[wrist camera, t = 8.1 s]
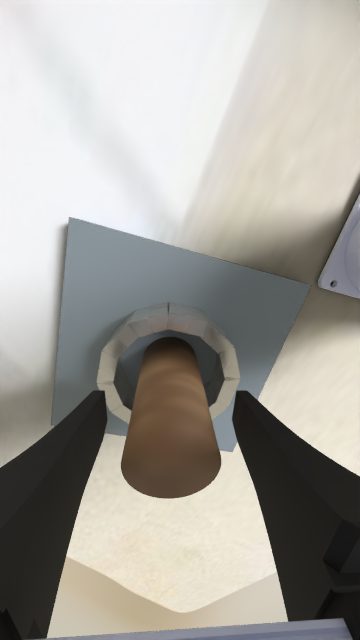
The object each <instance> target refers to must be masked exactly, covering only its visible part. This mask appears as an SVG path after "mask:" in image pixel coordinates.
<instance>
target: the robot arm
mask: <svg viewBox="0 0 360 640" xmlns="http://www.w3.org/2000/svg"><path fill="white" fill-rule="evenodd" d="M332 281H333V285H332V286H330V284H331V282H332ZM318 286H319V287H320V288H323V289H326V290H330V291H334V292H337V293H341V294H344V295H348V296H351V297H355V298H358V299H360V194H359V196H358V198H357V200H356V203H355V205H354V207H353V209H352V211H351V213H350V215H349V217H348V219H347V221H346V223H345V225H344V228H343V230H342V232H341V234H340V236H339V238H338V240H337V242H336V244H335V246H334V248H333V250H332V253H331V255H330V257H329V259H328V261H327V263H326V265H325V267H324V269H323V271H322V273H321V275H320V277H319V280H318ZM107 421H108V418H107V408H106V398H105V390H93V391H92V392H91V393H90V394H89V395H88V396H87V397H86V398H85V399H84V400H83V401H82V402H81V403H80V404H79V405H78V406H77V407H76V408H75V409H74V410H73V411H72V412H70V413H69V414H68V415H67V416H66V417H65V418H64V419H63V420H62V421H61V422H60V423H59V424H57V425H56V426H55V427H54V428H53V429H52V430H51V431H49V432H48V433H47V434H46V435H45V436H44V437H42V438H41V439H40V440H39V441H37V442H36V443H35V444H33V445H32V446H31V447H29V448H28V449H27V450H25V451H24V452H23V453H21V454H20V455H19V456H17V457H16V458H14V459H13V460H11V461H10V462H8V463H7V464H5V465H4V466H2V467H1V468H0V640H360V476H358V475H356V474H355V473H353V472H351V471H349V470H348V469H346V468H344V467H343V466H341V465H339V464H338V463H336V462H335V461H333V460H332V459H330V458H328V457H327V456H325V455H324V454H322V453H321V452H319V451H318V450H316V449H315V448H314V447H312V446H311V445H310V444H308V443H307V442H305V441H304V440H303V439H301V438H300V437H299V436H297V435H296V434H295V433H294V432H292V431H291V430H290V429H289V428H288V427H286V426H285V425H284V424H283V423H282V422H280V421H279V420H278V419H277V418H276V417H275V416H274V415H273V414H272V413H270V412H269V411H268V410H267V409H266V408H265V407H264V406H263V405H262V404H261V403H260V402H259V401H258V400H257V399H256V398H255V397H254V396H253V395H251V394H250V393H249V392H248V391H247V390H236V396H235V402H234V408H233V414H232V422H233V426H234V431H235V434H236V438H237V441H238V444H239V446H240V449H241V452H242V454H243V457H244V460H245V462H246V465H247V468H248V470H249V473H250V476H251V478H252V481H253V484H254V487H255V490H256V493H257V496H258V500H259V503H260V507H261V511H262V514H263V518H264V522H265V525H266V529H267V533H268V537H269V540H270V544H271V548H272V553H273V557H274V561H275V565H276V569H277V572H278V577H279V582H280V586H281V590H282V595H283V599H284V604H285V608H286V613H287V617H288V622H279V623H265V624H251V625H235V626H221V627H206V628H192V629H177V630H163V631H149V632H134V633H120V634H105V635H91V636H76V637H62V638H47V633H48V629H49V625H50V620H51V616H52V612H53V608H54V603H55V599H56V595H57V591H58V586H59V582H60V578H61V574H62V570H63V566H64V562H65V558H66V554H67V550H68V547H69V543H70V539H71V535H72V531H73V528H74V524H75V520H76V517H77V513H78V510H79V506H80V502H81V499H82V496H83V493H84V490H85V487H86V484H87V481H88V479H89V476H90V473H91V470H92V468H93V465H94V462H95V460H96V457H97V454H98V452H99V449H100V446H101V443H102V441H103V437H104V433H105V429H106V425H107ZM46 638H47V639H46Z"/></svg>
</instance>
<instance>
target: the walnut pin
mask: <svg viewBox="0 0 360 640" xmlns="http://www.w3.org/2000/svg"><path fill="white" fill-rule="evenodd" d="M220 467H221V455H220V451H219V447H218V443H217V439H216V435H215V431H214V427H213V423H212V419H211V415H210V411H209V407H208V403H207V399H206V395H205V390H204V386H203V382H202V378H201V374H200V370H199V366H198V362H197V358H196V354H195V351H194V349H193V348H192V346H191V345H190V344H189V343H188V342H186V341H185V340H183V339H180V338H177V337H163V338H159V339H157V340H155V341H154V342H152V343H151V344H150V345H149V346H148V347H147V349H146V350H145V352H144V355H143V360H142V365H141V369H140V374H139V379H138V384H137V388H136V393H135V398H134V403H133V408H132V412H131V417H130V422H129V427H128V432H127V436H126V441H125V446H124V451H123V455H122V460H121V470H122V474H123V476H124V478H125V480H126V481H127V482H128V484H129V485H130V486H132V487H133V488H134V489H135V490H137V491H139V492H141V493H143V494H145V495H148V496H152V497H157V498H180V497H185V496H188V495H191V494H194V493H196V492H198V491H200V490H202V489H204V488H205V487H206V486H208V485H209V484H210V483H211V482H212V481H213V480H214V479H215V477H216V476H217V474H218V472H219V470H220Z"/></svg>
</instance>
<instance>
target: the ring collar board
mask: <svg viewBox="0 0 360 640" xmlns="http://www.w3.org/2000/svg"><path fill="white" fill-rule="evenodd" d="M310 287H311V285H309V284H305V283H302V282H299V281H295V280H291V279H288V278H284V277H281V276H277V275H274V274H270V273H267V272H263V271H260V270H256V269H253V268H249V267H245V266H242V265H238V264H235V263H231V262H228V261H224V260H221V259H217V258H214V257H210V256H207V255H203V254H200V253H196V252H192V251H189V250H185V249H182V248H178V247H175V246H171V245H168V244H164V243H161V242H157V241H154V240H150V239H146V238H143V237H139V236H136V235H132V234H129V233H125V232H122V231H118V230H115V229H111V228H108V227H104V226H100V225H97V224H93V223H90V222H86V221H83V220H79V219H75V218H71V217H69V224H68V235H67V246H66V258H65V269H64V281H63V292H62V304H61V315H60V327H59V338H58V349H57V361H56V372H55V384H54V395H53V407H52V418H51V425H54V426H56V425H57V424H59V423H60V422H61V421H62V420H63V419H64V418H65V417H66V416H67V415H68V414H69V413H70V412H72V411H73V410H74V409H75V408H76V407H77V406H78V405H79V404H80V403H81V402H82V401H83V400H84V399H85V398H86V397H87V396H88V395H89V394H90V393H91V392H92V391H93V390H105V398H106V408H107V418H108V421H107V425H106V429H105V433H108V434H115V435H121V436H127V432H128V427H129V422H130V417H131V412H132V408H133V403H134V398H135V393H136V388H137V384H138V379H139V374H140V369H141V365H142V360H143V355H144V352H145V350H146V349H147V347H148V346H149V345H150V344H151V343H152V342H154V341H155V340H157V339H159V338H163V337H177V338H180V339H183V340H185V341H186V342H188V343H189V344H190V345H191V346H192V348H193V349H194V351H195V354H196V358H197V362H198V366H199V370H200V374H201V378H202V382H203V386H204V390H205V395H206V399H207V403H208V407H209V411H210V415H211V419H212V423H213V427H214V431H215V435H216V439H217V443H218V447H219V450H222V451H228V452H233V450H234V448H235V446H236V444H237V438H236V434H235V431H234V426H233V422H232V414H233V408H234V402H235V396H236V390H247V391H248V392H249V393H250V394H251V395H253V396H254V397H255V398H256V399H258V397H259V395H260V393H261V391H262V389H263V387H264V384H265V382H266V380H267V378H268V376H269V374H270V372H271V370H272V368H273V365H274V363H275V361H276V359H277V357H278V355H279V353H280V351H281V349H282V347H283V344H284V342H285V340H286V338H287V336H288V334H289V332H290V330H291V328H292V325H293V323H294V321H295V319H296V317H297V315H298V313H299V311H300V309H301V306H302V304H303V302H304V300H305V298H306V296H307V294H308V292H309V290H310Z"/></svg>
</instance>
